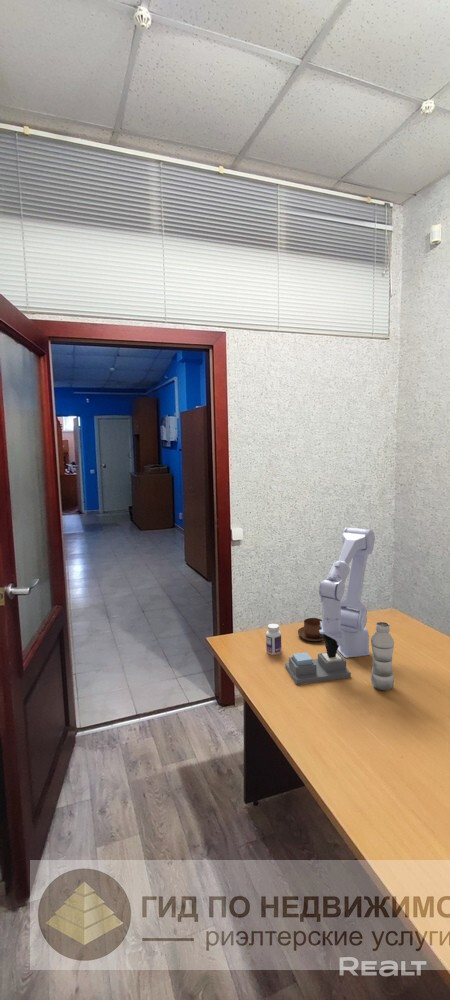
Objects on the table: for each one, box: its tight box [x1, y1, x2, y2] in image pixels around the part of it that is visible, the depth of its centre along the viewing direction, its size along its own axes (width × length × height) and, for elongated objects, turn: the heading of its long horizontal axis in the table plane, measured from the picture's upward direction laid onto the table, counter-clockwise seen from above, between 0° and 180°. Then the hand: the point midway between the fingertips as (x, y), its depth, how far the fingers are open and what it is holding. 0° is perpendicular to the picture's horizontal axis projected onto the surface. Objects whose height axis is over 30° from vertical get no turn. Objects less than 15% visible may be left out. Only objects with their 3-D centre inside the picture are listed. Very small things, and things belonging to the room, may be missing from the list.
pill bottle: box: [265, 623, 283, 656], centre depth 159 cm, size 5×5×10 cm
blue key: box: [292, 652, 313, 666], centre depth 143 cm, size 5×5×3 cm
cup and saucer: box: [297, 617, 324, 642], centre depth 170 cm, size 12×12×6 cm
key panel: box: [284, 651, 352, 686], centre depth 144 cm, size 18×11×4 cm, turn 100°
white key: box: [322, 652, 342, 662], centre depth 145 cm, size 5×5×3 cm
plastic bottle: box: [370, 621, 395, 691], centre depth 133 cm, size 6×7×20 cm
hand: (331, 656), depth 145 cm, fingers closed, pressing on white key
